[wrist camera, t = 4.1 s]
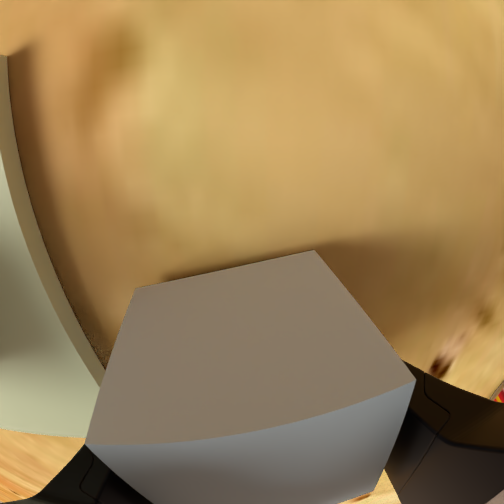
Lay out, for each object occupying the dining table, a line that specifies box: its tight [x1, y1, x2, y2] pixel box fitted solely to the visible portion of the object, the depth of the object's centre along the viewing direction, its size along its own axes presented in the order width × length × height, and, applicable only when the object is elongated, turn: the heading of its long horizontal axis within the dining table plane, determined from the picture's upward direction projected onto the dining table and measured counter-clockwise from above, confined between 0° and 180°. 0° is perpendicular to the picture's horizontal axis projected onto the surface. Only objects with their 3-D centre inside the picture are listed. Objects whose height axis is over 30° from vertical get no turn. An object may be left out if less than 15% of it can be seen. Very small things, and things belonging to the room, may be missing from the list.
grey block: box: [85, 250, 416, 504], centre depth 7 cm, size 6×6×6 cm
